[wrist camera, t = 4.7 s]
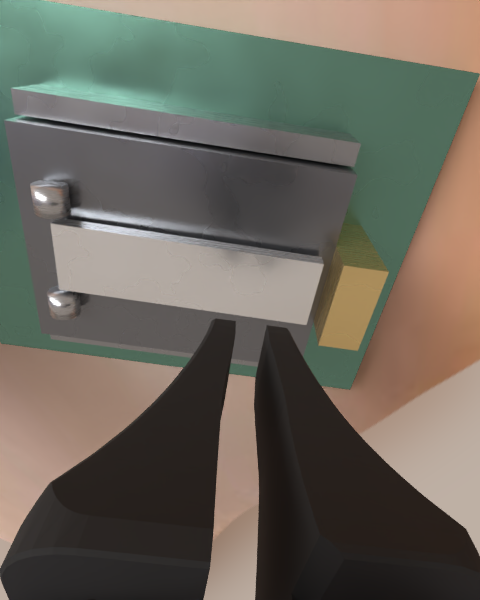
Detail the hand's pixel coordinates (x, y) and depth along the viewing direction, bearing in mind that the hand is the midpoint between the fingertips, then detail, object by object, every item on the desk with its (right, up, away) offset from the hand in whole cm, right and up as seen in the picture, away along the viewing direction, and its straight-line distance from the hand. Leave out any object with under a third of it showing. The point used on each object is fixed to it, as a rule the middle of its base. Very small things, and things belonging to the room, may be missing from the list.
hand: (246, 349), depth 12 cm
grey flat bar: (-2, +3, +4) cm, 5 cm away
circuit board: (-3, +5, +7) cm, 9 cm away
